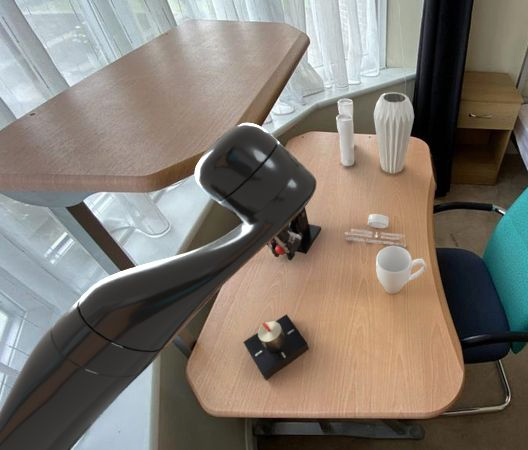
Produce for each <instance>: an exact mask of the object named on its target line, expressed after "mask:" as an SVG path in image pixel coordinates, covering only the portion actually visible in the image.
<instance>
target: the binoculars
mask: <svg viewBox="0 0 528 450" xmlns="http://www.w3.org/2000/svg"><path fill="white" fill-rule="evenodd" d="M337 109H338V115H336V116H335V120H336V128H337V133H338V135H339V136H338V137H339V150H340V161H341V164H342V165H343V166H345V167H350V166H353V165H355V154H354V153H355V152H354V148H355V146H356V145H355V142H356V141H355V133H354V131H355V129H354V101H353V100H352V99H350V98H341V99H339V100H338V101H337Z"/></svg>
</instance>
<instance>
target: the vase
mask: <svg viewBox="0 0 528 450" xmlns="http://www.w3.org/2000/svg"><path fill="white" fill-rule="evenodd" d="M414 119H415V113H414V108H413V104H412V102H411V100H410V97H409V96H408V95H407V94H405V93H401V92H397V91H394V92H393V91H390V92H386V93H383V94H381V95H380V97H379V98H378V100H377V102H376V104H375V108H374V111H373V122H374V127H375V135H376V141H377V147H378V155H379V162H380V167H381V169H382V171H384V172H385V173H387V174H398V173H400V172H401V171H403V169H404V166H405V161H406V157H407V153H408V148H409V143H410V138H411V133H412V129H413V124H414Z"/></svg>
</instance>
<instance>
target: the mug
mask: <svg viewBox="0 0 528 450" xmlns="http://www.w3.org/2000/svg"><path fill="white" fill-rule="evenodd" d="M417 265H422V266H421V268H419V269H418V270H416V271H415V272H413V273H412V269H413V268H414V267H415V266H417ZM426 265H427V264H426V262H425V260H424V259H423V258H415V259H413V260H412V256H411V254H410V252H409V251H408V250H407V249H406V248H405V247H403V246H398V245H393V246H392V245H389V246H386V247H383V248H382V249H381V250H379V251H378V253H377V254H376V258H375V271H376V277H377V280H378V282H379V283H380V285H381V286H382V288H383V289H384V290H385V292H386V293H387V294H390V295H391V294H392V295H394V294H398V293H399V292H400V291H401V290H402V289H403V287H405V286H406V284H407V283H408V282H411V281H413V280H414V279H416V278H418V277H420V276H421V275H423V273H425V271H426V268H427V266H426ZM411 273H412V274H411Z"/></svg>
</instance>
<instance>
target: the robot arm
mask: <svg viewBox="0 0 528 450" xmlns="http://www.w3.org/2000/svg"><path fill="white" fill-rule="evenodd" d="M221 135H222V134H221ZM215 140H216V139H215ZM215 140H214V142H213V143H212V144H211V145H210V146H209V147H208V148H207V149H206V150H205V152H203V154H202V155H201V157H200V158H199V160H198V161H197V164H196V166H195V168H194V178H195V182H196V183H197V184H198V186H199V187H200V189H201V190H202V191H203V192H204V193H205V194H207V196H209V197H210V198H211V199H213V200H214V201H215V202H217V203H218V204H220V205H221V206H222V207H224V208H225V209H226V210H228V211H229V212H230V213H232V214H233V215H234V216H236V217H237V218H238V219H240V220H241V221H242V223H240V224H239V225H238V226H236V227H235V228H234V229H233V230H230V231H229V232H228V233H225V235H223V236H221V237H220V238H217V239H216V240H214V241H212V242H210V243H208V244H206V245H203V246H200V247H198V248H196V249H193V250H190V251H187V252H185V253H181V254H178V255H174V256H171V257H170V256H169V257H167V258H162V259H158V260H155V261H151V262H148V263H145V264H140V265H137V266H134V267H131V268H128V269H125V270H122V271H119V272H117V273H114V274H112V275H109V276H107V277H105V278H104V279H101V280H99V281H98V282H97V283H95V284H94V285H92V286H91V287H90V288H89V289H88V290H87V291H86V292H85V293H84V294H82V296H81V297H79V299H78V300H76V302H75V303H74V304H72V306H70V307H69V309H68V310H67V311H65V312H64V314H62V315H61V316H60V317H59V318H58V319H57V320H56V321H55V322H54V323H53V324H52V325H51V327H49V329H48V330H46V332H45V333H44V334H43V335H42V337H41V338H40V339H39V341H38V342H37V343H36V344H35V346H34V347H33V349H32V351H30V354H29V355H28V357H27V358H26V360H25V363H24V364H23V366H22V368H21V370H20V371H19V373H18V375H17V377H16V379H15V381H14V383H13V384H12V387H11V389H10V391H9V392H8V395H7V396H6V398H5V400H4V403H3V405H2V406H1V408H0V450H72V449H73V448H74V447H75V446H76V445H77V443H78V442H79V441H80V440H81V439H82V438H83V436H84V435H85V434H86V433H87V432H88V431H89V430H90V429H91V428H92V426H94V424H95V423H96V422H97V421H98V420H99V419H100V418H101V417H102V415H103V414H104V413H105V412H106V411H107V410H108V409H109V408H110V406H111V405H112V404H113V403H114V402H115V401H117V399H118V398H119V396H121V395H122V394H123V392H124V391H126V390H127V388H128V387H130V385H132V383H134V382H135V380H136V379H137V378H138V377H140V375H141V374H143V372H144V371H146V370H147V369H148V367H150V365H152V364H153V362H154V361H155V360H156V359H157V358H158V357H159V356H160V355H161V354H162V353H163V352H164V351H165V349H167V348H168V346H170V345H171V343H172V342H173V341H174V340H175V339H176V337H178V335H179V334H180V333H181V332H182V331H183V330H184V329H185V328H186V326H187V325H188V324H189V323H190V322H191V320H192V319H194V317H195V316H196V315H197V314H198V313H199V312H200V311H201V309H202V308H203V307H204V306H205V305H206V304H207V303H208V302H210V300H211V299H212V298H213V297H214V296H215V295H216V293H217V292H218V291H219V290H220V289H221V288H222V287H224V285H225V284H226V283H227V282H228V281H229V280H231V278H233V277H234V275H235V274H237V273H238V272H239V271H240V270H241V269H242V268H243V267H244V266H245V265H246V264H248V263H249V262H250V261H251V260H252V259H253V258H254V257H255V256H256V255H257V254H258V253H259V252H260V251H262V249H264V248H265V247H266V246H267V248H269V249H270V250H271V253H272V254H273V256H274V257H275V258H279V256H280V255H279V254H277V253H276V251H275V247H276V245H277V244H278V243H279V245H280V247H283V248H284V250H285V253H286V254H285V255H286V258H287V261H290V262H291V261H292V260H293V259H294V258H295V256H296V253H297V252H296V250H297V249H298V247H299V246H300V243H301V240H302V237H303V234H302V233H299V234H298V235H297V234H295V233H293V232H292V229H291V228H290V227H289V223H290V222H291V221H292V220H293V219H294V218H295V217H296V216H297V215H298V214H299V213H300V212H301V211H302V210H303V209H304V207H305V208H306V206H307V205H308V204H309V202H310V201H311V199H313V196H314V194H315V192H316V189H317V179H316V177H315V175H313V173H312V172H311V171H310V170H309V169H308V168H307V167H306V166H305V165H303V163H302V162H300V160H298V159H297V158H296V156H294V155H293V154H292V153H291V152H290V151H289V150H288V149H287V148H286V147H285V146H284V145H283V144H282V143H281V142H280V141H278V138H276V137H275V136H274V135H272V133H270V132H268V131H267V130H266V129H265V128H263V127H261V126H260V125H258V124H255V123H252V122H251V123H250V122H243V123H239V124H236V125H235V126H232V128H230V129H228V130H227V131H226V132H224V133H223V135H222V136H221V137H220V138H218V139H217V140H216V141H215ZM291 239H292V241H291ZM277 242H278V243H277Z"/></svg>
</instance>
